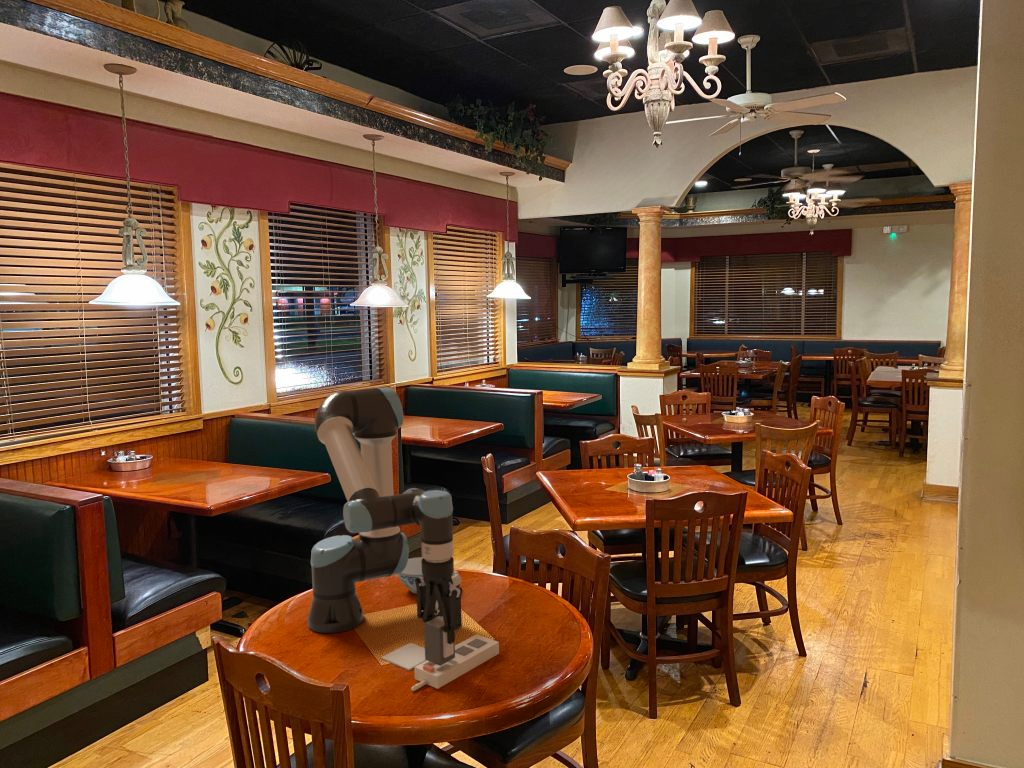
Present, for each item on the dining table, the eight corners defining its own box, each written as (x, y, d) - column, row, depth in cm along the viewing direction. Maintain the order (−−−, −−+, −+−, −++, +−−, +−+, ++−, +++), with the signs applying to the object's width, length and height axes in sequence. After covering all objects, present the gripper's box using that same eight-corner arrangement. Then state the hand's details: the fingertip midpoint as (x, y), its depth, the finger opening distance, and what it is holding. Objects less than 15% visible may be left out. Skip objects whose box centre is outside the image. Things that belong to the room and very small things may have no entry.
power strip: (423, 697, 172) (422, 681, 172) (400, 686, 177) (400, 671, 176) (499, 653, 193) (498, 639, 192) (476, 645, 197) (476, 631, 197)
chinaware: (397, 601, 227) (397, 576, 226) (395, 583, 242) (394, 559, 241) (448, 596, 230) (447, 571, 229) (442, 578, 245) (441, 555, 244)
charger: (425, 659, 181) (424, 622, 180) (440, 651, 185) (439, 615, 184) (440, 665, 178) (439, 628, 177) (455, 657, 182) (454, 620, 181)
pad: (381, 658, 191) (381, 657, 191) (410, 644, 199) (410, 642, 198) (408, 670, 185) (408, 668, 184) (437, 655, 192) (437, 653, 192)
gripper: (399, 553, 181) (402, 646, 184) (454, 570, 170) (456, 669, 173) (422, 545, 187) (424, 635, 190) (476, 561, 176) (478, 656, 179)
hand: (439, 651), depth 181 cm, fingers closed on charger, 5 cm apart
